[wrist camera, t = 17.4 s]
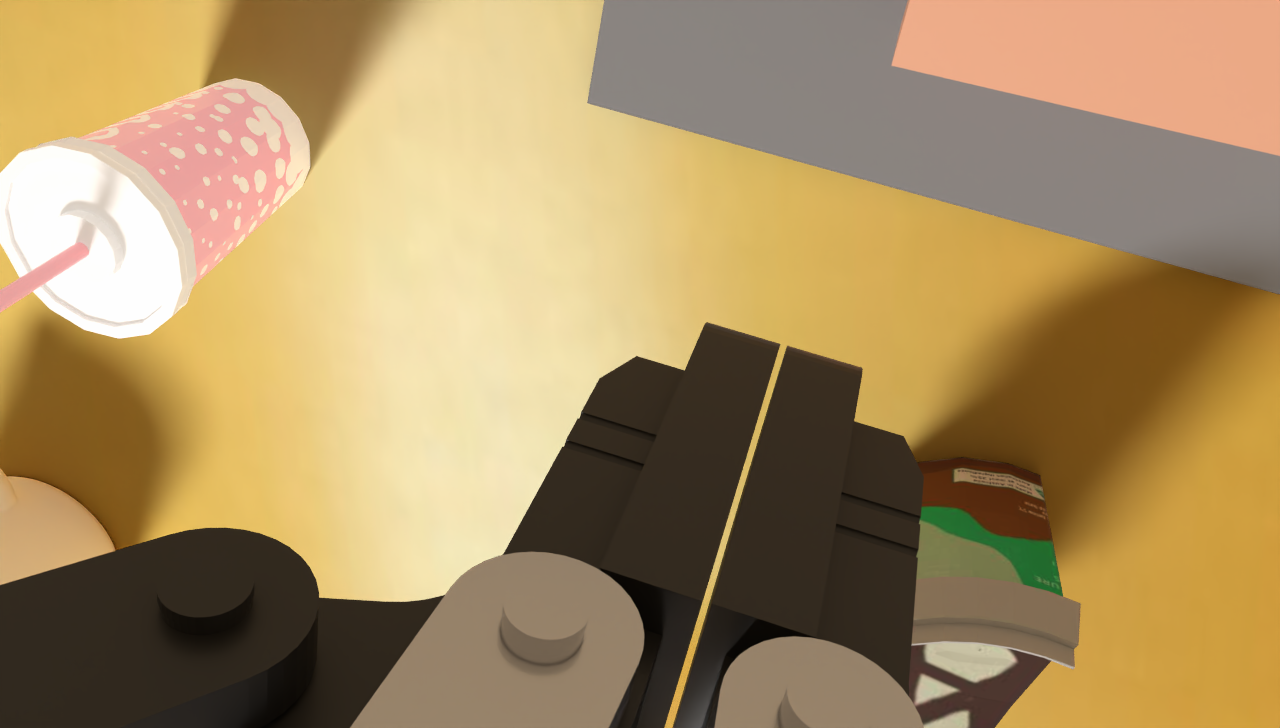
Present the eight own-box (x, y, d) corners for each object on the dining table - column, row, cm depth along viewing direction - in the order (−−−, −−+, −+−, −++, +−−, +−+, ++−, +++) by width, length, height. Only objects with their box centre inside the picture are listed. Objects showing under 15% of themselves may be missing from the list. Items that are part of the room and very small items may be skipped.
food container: (897, 367, 38) (873, 556, 30) (1063, 444, 38) (1086, 655, 30) (754, 601, 45) (703, 807, 37) (895, 666, 45) (875, 888, 37)
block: (891, 65, 28) (1390, 181, 27) (945, -125, 26) (1497, -10, 24) (901, 20, 32) (1340, 120, 31) (949, -150, 30) (1429, -51, 28)
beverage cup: (309, 55, 38) (14, 220, 26) (346, 224, 41) (96, 438, 30) (153, 56, 40) (-191, 213, 28) (200, 219, 43) (-93, 420, 31)
